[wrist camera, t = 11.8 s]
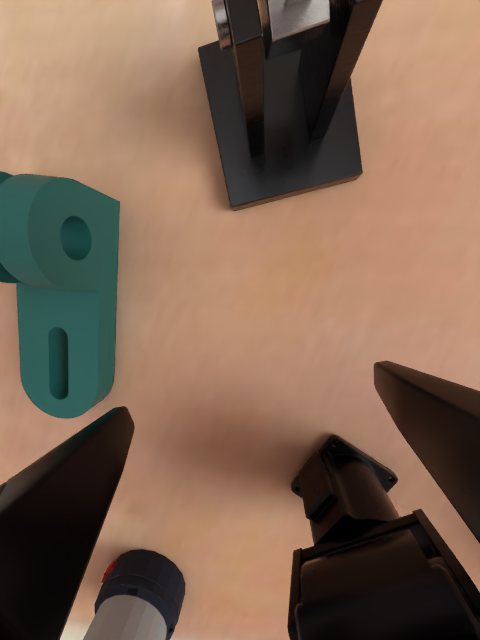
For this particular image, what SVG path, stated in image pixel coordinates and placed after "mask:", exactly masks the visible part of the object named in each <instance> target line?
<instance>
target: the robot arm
mask: <svg viewBox="0 0 480 640" xmlns="http://www.w3.org/2000/svg"><path fill="white" fill-rule="evenodd" d="M374 385H375V388H376V390H377V392H378V394H379V396H380V398H381V399H382V401H383V403H384V405H385V406H386V408H387V410H388V412H389V414H390V415H391V417H392V419H393V421H394V422H395V424H396V426H397V427H398V429H399V431H400V432H401V434H402V435H403V437H404V438H405V439H406V441H407V442H408V444H409V445H410V446H411V448H412V449H413V451H414V452H415V453H416V455H417V456H418V458H419V459H420V460H421V462H422V463H423V465H424V466H425V467H426V469H427V470H428V472H429V473H430V474H431V476H432V477H433V479H434V480H435V481H436V483H437V484H438V486H439V487H440V488H441V490H442V491H443V493H444V494H445V495H446V497H447V498H448V500H449V501H450V502H451V504H452V505H453V507H454V508H455V509H456V511H457V512H458V514H459V515H460V516H461V518H462V519H463V521H464V522H465V523H466V525H467V526H468V528H469V529H470V530H471V532H472V533H473V535H474V536H475V537H476V539H477V540H478V542H479V543H480V391H478V390H475V389H472V388H468V387H465V386H462V385H459V384H456V383H453V382H450V381H447V380H444V379H441V378H438V377H435V376H432V375H429V374H426V373H423V372H420V371H417V370H414V369H411V368H408V367H405V366H402V365H399V364H396V363H393V362H390V361H381V362H376V363H375V364H374ZM133 433H134V422H133V420H132V418H131V415H130V413H129V411H128V409H127V408H126V407H125V406H122V407H116V408H113V409H112V410H110V411H109V412H107V413H106V414H104V415H103V416H101V417H100V418H98V419H97V420H95V421H94V422H92V423H91V424H90V425H88V426H87V427H85V428H84V429H82V430H81V431H79V432H78V433H76V434H75V435H73V436H72V437H71V438H69V439H68V440H66V441H65V442H63V443H62V444H60V445H59V446H57V447H56V448H54V449H53V450H51V451H50V452H49V453H47V454H46V455H44V456H43V457H41V458H40V459H38V460H37V461H35V462H34V463H32V464H31V465H30V466H28V467H27V468H25V469H24V470H22V471H21V472H19V473H18V474H16V475H15V476H13V477H12V478H10V479H9V480H8V481H7V482H5V483H3V484H2V485H0V640H60V638H61V635H62V632H63V630H64V627H65V624H66V622H67V619H68V616H69V614H70V611H71V608H72V606H73V603H74V600H75V598H76V595H77V592H78V590H79V587H80V584H81V582H82V579H83V576H84V574H85V571H86V568H87V566H88V563H89V560H90V558H91V555H92V552H93V550H94V547H95V544H96V542H97V539H98V537H99V534H100V531H101V529H102V526H103V523H104V521H105V518H106V515H107V513H108V510H109V507H110V505H111V502H112V499H113V497H114V494H115V491H116V489H117V486H118V483H119V481H120V478H121V475H122V472H123V469H124V466H125V462H126V459H127V455H128V451H129V448H130V444H131V440H132V437H133ZM335 441H338V442H337V443H333V442H335ZM390 477H392V478H390ZM388 478H390V479H388ZM397 481H398V479H397V477H396V475H395V473H394V472H392V471H391V470H389V469H388V468H386V467H385V466H383V465H382V464H380V463H378V462H377V461H375V460H374V459H372V458H371V457H369V456H368V455H366V454H365V453H363V452H362V451H360V450H359V449H357V448H356V447H354V446H352V445H351V444H349V443H348V442H346V441H345V440H343V439H342V438H340V437H339V436H336V435H334V436H331V437H330V438H329V439H328V440H327V442H326V443H325V444H324V445H323V446H322V447H321V449H320V450H319V451H318V452H316V453H315V454H314V455H313V456H312V457H311V458H310V460H309V461H308V462H307V463H306V464H305V466H304V467H303V468H302V469H301V470H300V471H299V475H298V476H297V477H296V478H295V479H294V480H293V482H292V483H291V490H292V492H294V493H295V494H296V495H298V496H300V497H301V498H303V502H304V509H305V514H306V518H307V519H309V520H310V525H311V531H312V537H313V542H314V546H312V547H309V548H306V549H303V550H302V548H300V549H297V550H294V552H293V564H292V575H291V588H290V600H289V613H288V633H289V637H290V640H480V592H479V591H478V589H477V588H476V586H475V585H474V583H473V581H472V580H471V578H470V577H469V575H468V574H467V572H466V571H465V569H464V568H463V566H462V565H461V564H460V562H459V561H458V559H457V558H456V557H455V555H454V554H453V552H452V551H451V550H450V548H449V547H448V545H447V544H446V543H445V541H444V540H443V539H442V537H441V536H440V534H439V533H438V532H437V530H436V529H435V528H434V526H433V525H432V523H431V522H430V521H429V519H428V518H427V516H426V515H425V514H424V512H423V511H422V510H421V509H418V510H415V511H412V512H413V514H410V515H407V516H403V517H399V515H398V513H397V511H396V510H395V508H394V506H393V504H392V502H391V500H390V499H389V497H388V495H387V492H388V491H389V490H390V489H391V488H392V487H393V486H394V485H395V484H396V483H397ZM297 486H298V488H296V487H297Z"/></svg>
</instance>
